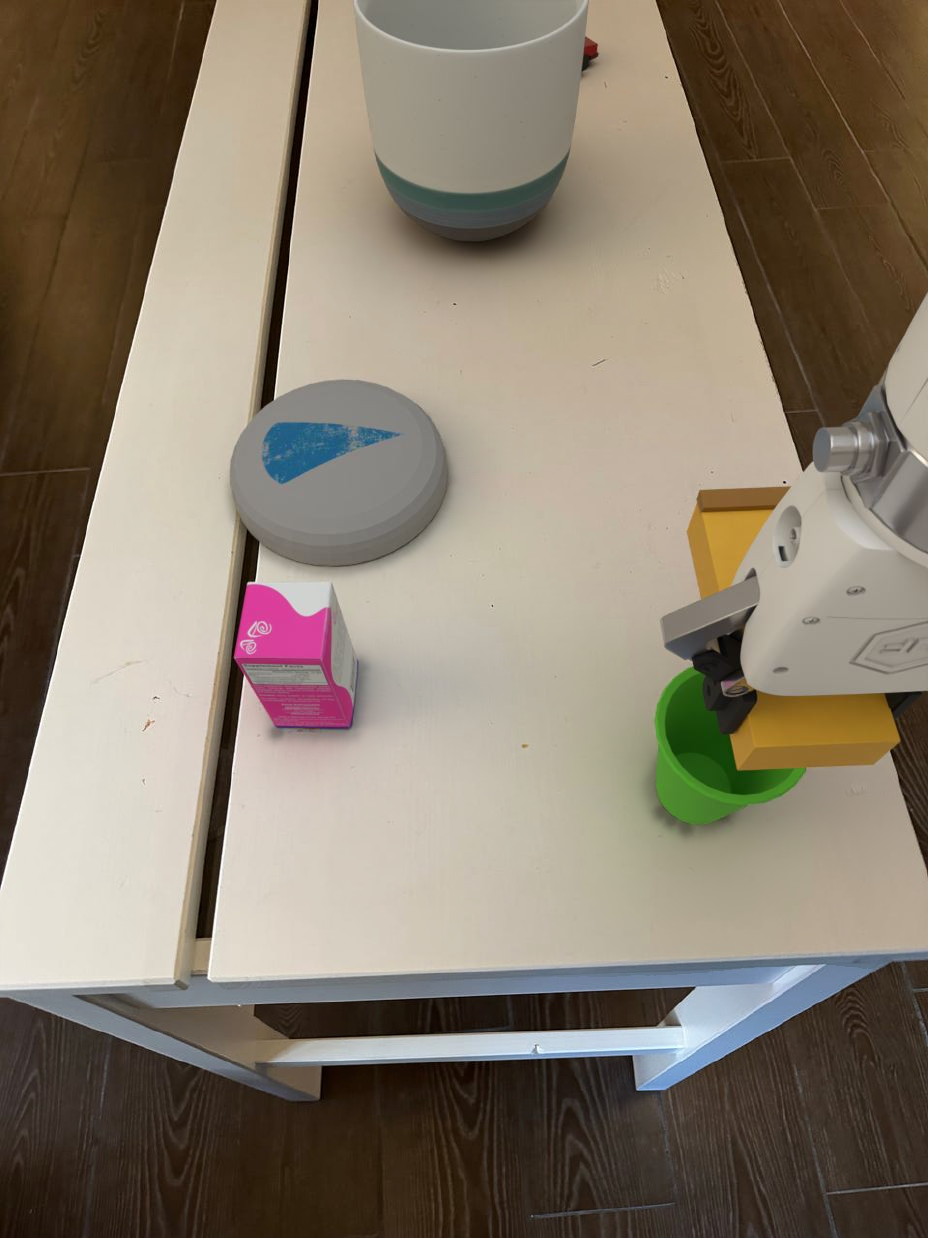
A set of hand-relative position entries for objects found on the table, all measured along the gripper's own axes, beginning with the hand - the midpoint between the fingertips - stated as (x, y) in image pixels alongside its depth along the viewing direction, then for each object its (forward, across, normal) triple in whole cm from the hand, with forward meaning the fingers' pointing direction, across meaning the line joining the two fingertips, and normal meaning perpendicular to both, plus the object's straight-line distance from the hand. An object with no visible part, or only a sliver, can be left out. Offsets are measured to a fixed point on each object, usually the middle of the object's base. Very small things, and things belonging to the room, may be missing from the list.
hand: (795, 701), depth 41 cm
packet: (+1, 0, +4) cm, 4 cm away
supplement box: (+20, -27, +11) cm, 35 cm away
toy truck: (+20, -2, +95) cm, 97 cm away
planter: (+20, -13, +67) cm, 71 cm away
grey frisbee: (+20, -26, +31) cm, 45 cm away
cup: (+20, 0, +2) cm, 20 cm away
